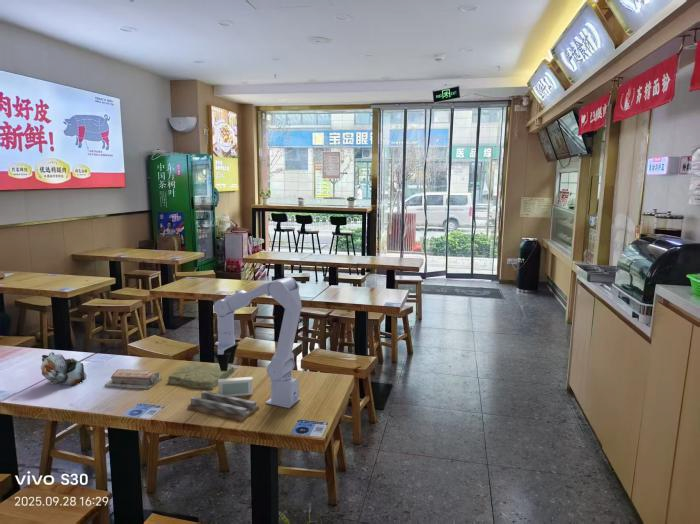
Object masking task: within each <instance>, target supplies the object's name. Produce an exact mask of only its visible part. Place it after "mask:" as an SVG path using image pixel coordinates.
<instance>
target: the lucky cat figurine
mask: <svg viewBox="0 0 700 524" xmlns="http://www.w3.org/2000/svg"><path fill="white" fill-rule="evenodd" d="M41 361H42V363H41V365H40V370H41V375H42V376H43V377H44V378H45V379H46V380H48V381H49V384H51V383H52V384H51V385H54V383H55V384H60V385H66V386H67V385H68V386H69V385H70V386H76V385H75V384H77V385H79V384H81V383H80V382H83V381H85V380H86V379H87V374H86V372H85V367H84V366H85V365H84V363H82V362H80V361H78V359H74V358H73V357H72V358H65V357H64V356H63V354H60V353H59V354H55V353H54V352H53V351H52V352H49V353H48V355H46V354H42V355H41ZM78 383H79V384H78Z"/></svg>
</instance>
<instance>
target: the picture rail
mask: <svg viewBox="0 0 700 524" xmlns="http://www.w3.org/2000/svg"><path fill="white" fill-rule="evenodd" d="M200 394H201V395H200V397H198V396H197V397H196V396H192V397H190V404H188V405H187V409H189V410H194V411H197V412H202V413H205V414H209V415H210V414H211V415H214V416H218V417H222V418H227V419H230V420H235V421H238V422H242V421H244V420H245V419H247V418H248V417H249V416H250V415H252V414H253V413H255V412H256V411H258V410H259V408H260V406H259V405H257V402H256V401H253V400H249V399H245V398H244V399H243V398H241V397H236V396H226V395H222V394H218V393H216V392H211V391H207V390H202V391H201V392H200Z"/></svg>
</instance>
